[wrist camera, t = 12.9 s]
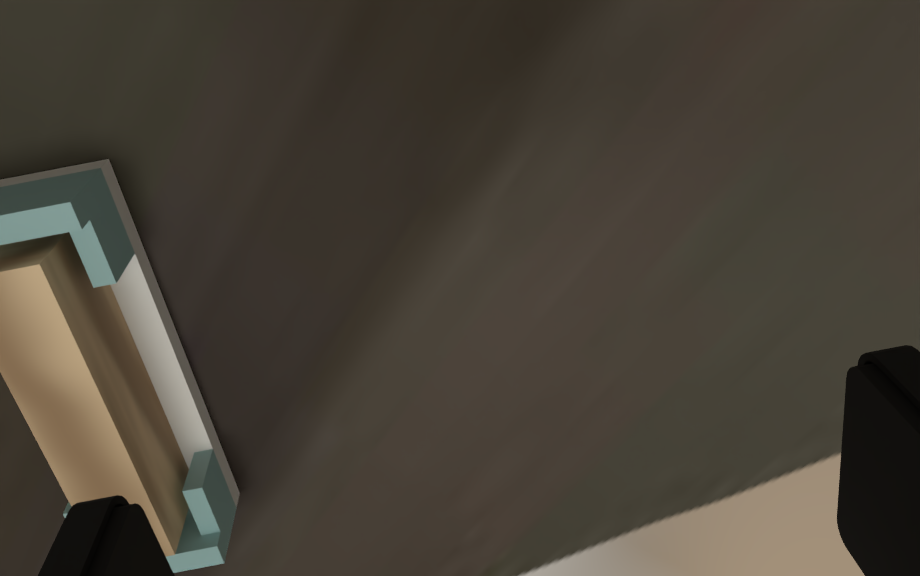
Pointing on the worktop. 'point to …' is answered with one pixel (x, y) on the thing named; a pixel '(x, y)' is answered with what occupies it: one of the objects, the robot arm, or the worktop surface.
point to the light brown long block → (86, 385)
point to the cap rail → (134, 330)
